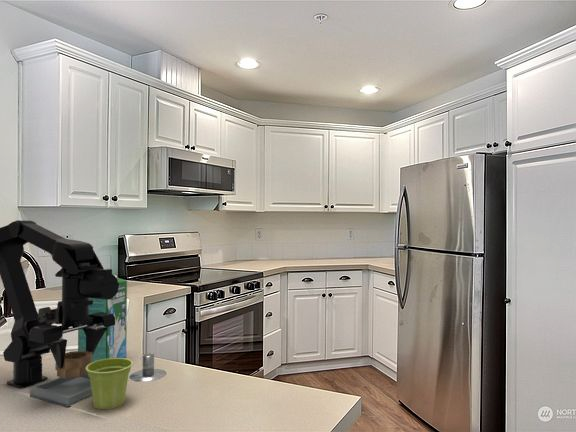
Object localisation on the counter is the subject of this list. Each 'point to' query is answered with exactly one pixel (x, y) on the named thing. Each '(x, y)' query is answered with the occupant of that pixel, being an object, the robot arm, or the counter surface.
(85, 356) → the ring
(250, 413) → the counter surface
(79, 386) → the tray
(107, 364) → the plant pot
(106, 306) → the milk carton
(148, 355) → the grey peg stand
